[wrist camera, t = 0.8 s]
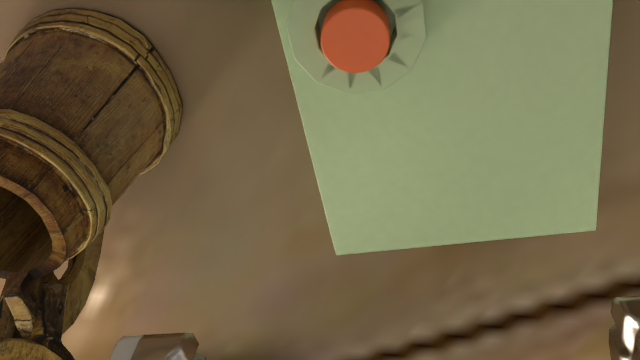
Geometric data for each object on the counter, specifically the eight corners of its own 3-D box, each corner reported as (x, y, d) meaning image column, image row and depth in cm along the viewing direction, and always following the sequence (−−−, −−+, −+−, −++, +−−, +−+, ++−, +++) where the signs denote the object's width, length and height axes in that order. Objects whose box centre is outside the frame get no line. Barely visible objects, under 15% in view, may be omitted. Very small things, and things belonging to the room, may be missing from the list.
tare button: (316, 2, 24) (313, 14, 23) (384, -10, 24) (384, 1, 23) (330, 64, 26) (327, 78, 25) (393, 54, 25) (394, 68, 24)
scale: (270, -46, 27) (257, -22, 24) (603, -111, 24) (633, -92, 21) (338, 231, 36) (334, 272, 33) (584, 206, 33) (603, 248, 30)
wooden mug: (79, 225, 37) (-115, 531, 23) (-18, 16, 29) (-406, 275, 15) (216, 219, 36) (105, 538, 21) (153, -1, 28) (-88, 264, 14)
